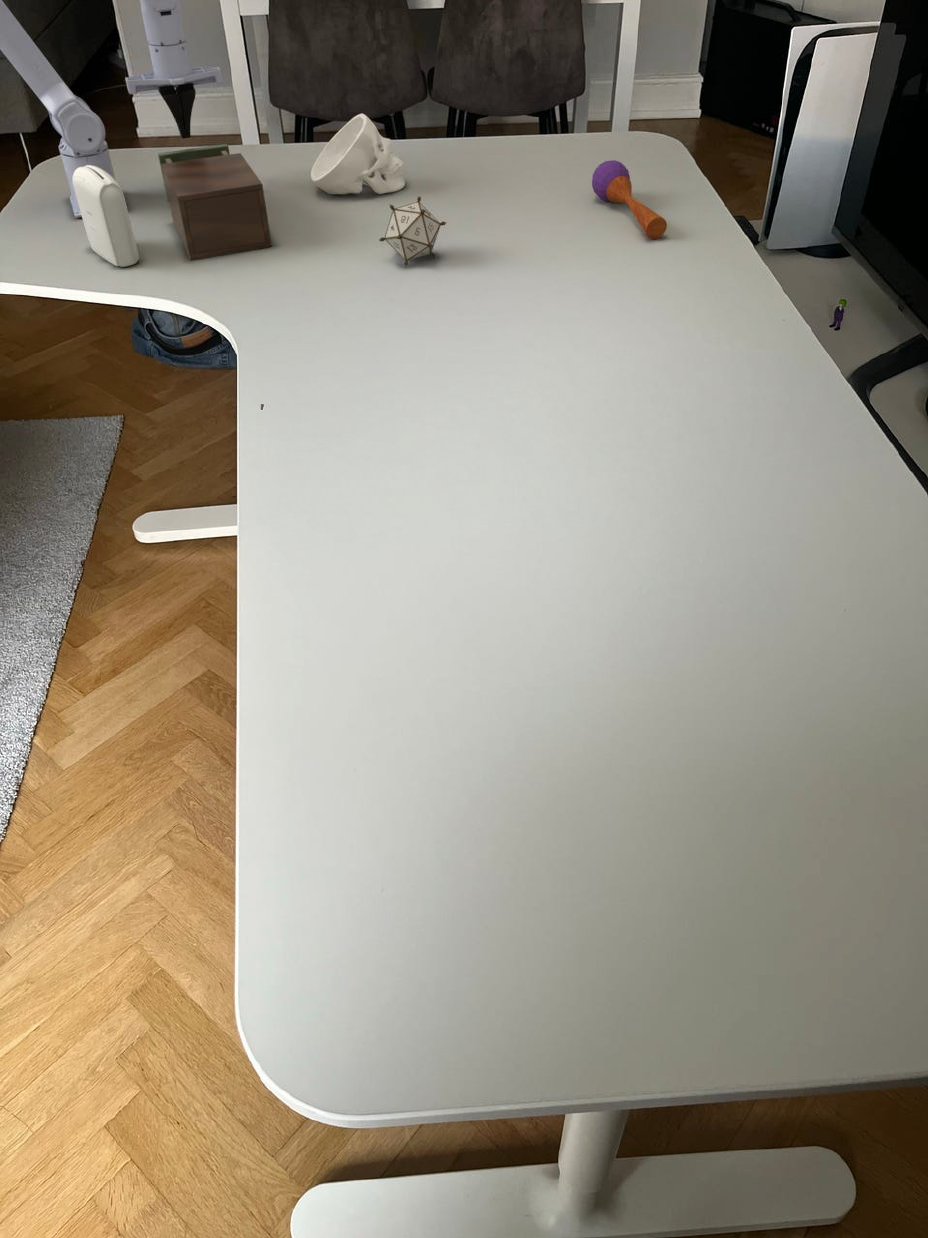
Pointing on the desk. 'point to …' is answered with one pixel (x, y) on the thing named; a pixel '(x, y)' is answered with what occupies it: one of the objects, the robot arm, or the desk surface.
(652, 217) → the purple and orange maraca
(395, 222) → the game die
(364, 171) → the skull bowl
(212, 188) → the cabinet
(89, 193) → the photo printer
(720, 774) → the desk surface
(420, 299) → the desk surface
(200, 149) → the drawer
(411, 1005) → the desk surface
